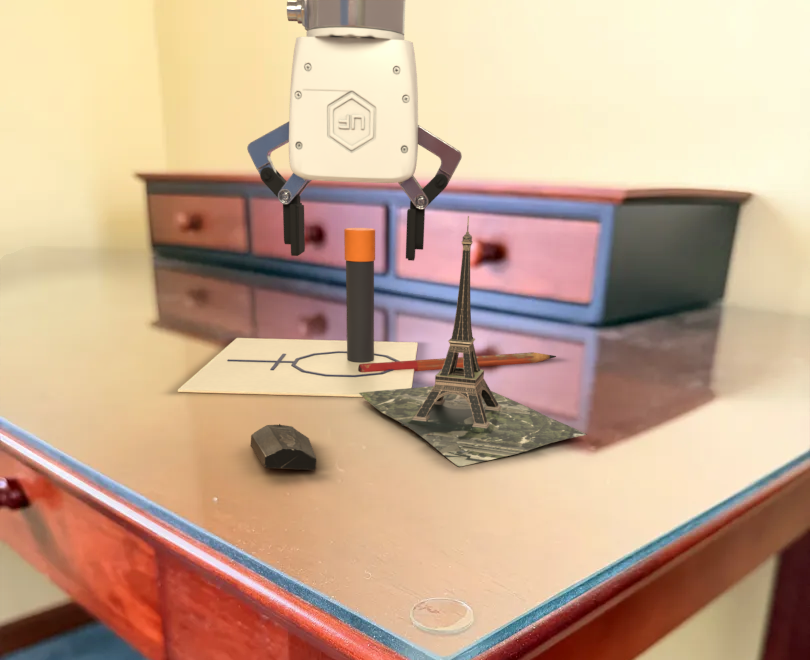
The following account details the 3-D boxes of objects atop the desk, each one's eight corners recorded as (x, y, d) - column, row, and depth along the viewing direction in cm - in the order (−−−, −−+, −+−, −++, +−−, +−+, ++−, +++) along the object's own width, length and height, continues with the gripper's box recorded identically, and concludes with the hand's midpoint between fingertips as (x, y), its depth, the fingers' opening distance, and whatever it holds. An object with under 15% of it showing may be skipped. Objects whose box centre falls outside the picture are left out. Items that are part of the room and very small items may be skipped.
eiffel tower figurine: (591, 444, 53) (619, 225, 48) (458, 467, 49) (471, 229, 43) (469, 387, 65) (480, 206, 59) (353, 401, 61) (352, 208, 55)
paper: (177, 392, 63) (177, 388, 63) (236, 339, 81) (236, 336, 81) (410, 398, 63) (410, 394, 63) (417, 344, 81) (417, 341, 81)
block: (263, 481, 46) (261, 451, 45) (249, 448, 51) (247, 420, 51) (326, 476, 47) (325, 445, 46) (306, 443, 52) (305, 416, 52)
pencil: (360, 377, 69) (360, 365, 69) (356, 374, 70) (356, 362, 70) (558, 363, 75) (559, 352, 75) (552, 360, 76) (553, 349, 76)
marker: (344, 362, 72) (342, 229, 68) (347, 356, 75) (345, 227, 70) (373, 363, 72) (373, 230, 68) (376, 356, 75) (376, 228, 70)
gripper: (231, 9, 59) (243, 257, 67) (470, 16, 59) (456, 266, 66) (253, 24, 66) (262, 248, 73) (467, 31, 66) (455, 255, 73)
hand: (354, 256), depth 70 cm, fingers open, 9 cm apart
